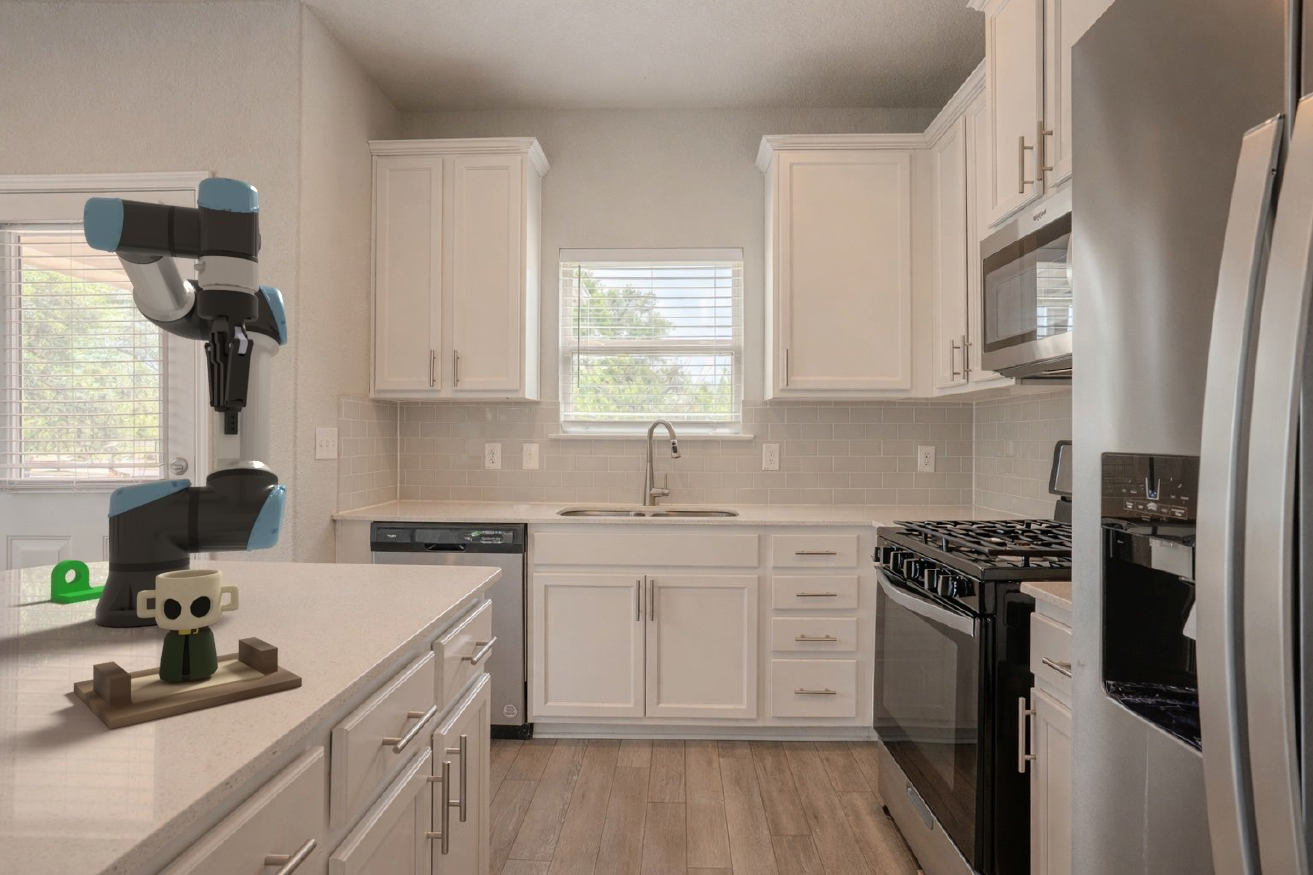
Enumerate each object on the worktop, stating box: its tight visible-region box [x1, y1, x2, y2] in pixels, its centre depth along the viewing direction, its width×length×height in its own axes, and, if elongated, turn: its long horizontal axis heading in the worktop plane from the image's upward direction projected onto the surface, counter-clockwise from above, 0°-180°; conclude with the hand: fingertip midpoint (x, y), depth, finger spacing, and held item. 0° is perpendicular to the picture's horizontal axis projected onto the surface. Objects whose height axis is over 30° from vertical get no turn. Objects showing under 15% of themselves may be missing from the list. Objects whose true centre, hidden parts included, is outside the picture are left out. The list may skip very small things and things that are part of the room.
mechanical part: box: [50, 559, 105, 604], centre depth 148 cm, size 12×6×8 cm, turn 156°
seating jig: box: [73, 636, 303, 730], centre depth 95 cm, size 18×20×4 cm
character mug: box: [137, 568, 240, 681], centre depth 95 cm, size 11×7×13 cm, turn 115°
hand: (227, 457), depth 109 cm, fingers closed
